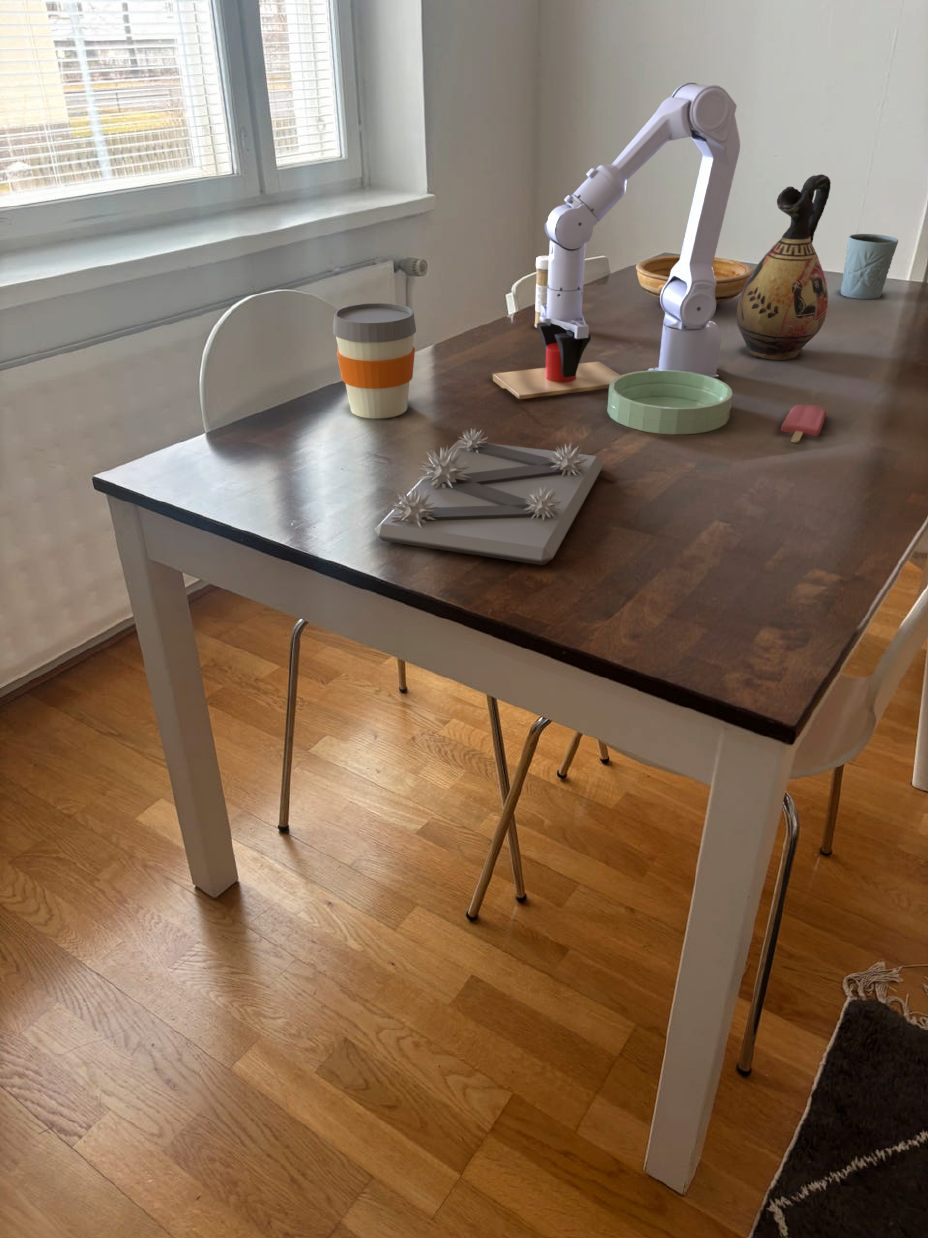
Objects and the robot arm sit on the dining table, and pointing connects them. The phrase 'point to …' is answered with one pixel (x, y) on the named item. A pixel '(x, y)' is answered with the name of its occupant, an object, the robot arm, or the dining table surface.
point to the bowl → (669, 402)
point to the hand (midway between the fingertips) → (561, 370)
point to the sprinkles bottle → (541, 285)
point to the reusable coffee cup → (376, 356)
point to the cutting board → (538, 385)
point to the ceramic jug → (787, 281)
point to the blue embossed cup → (867, 265)
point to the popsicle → (804, 421)
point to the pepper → (555, 365)
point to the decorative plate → (493, 500)
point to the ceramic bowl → (726, 271)
